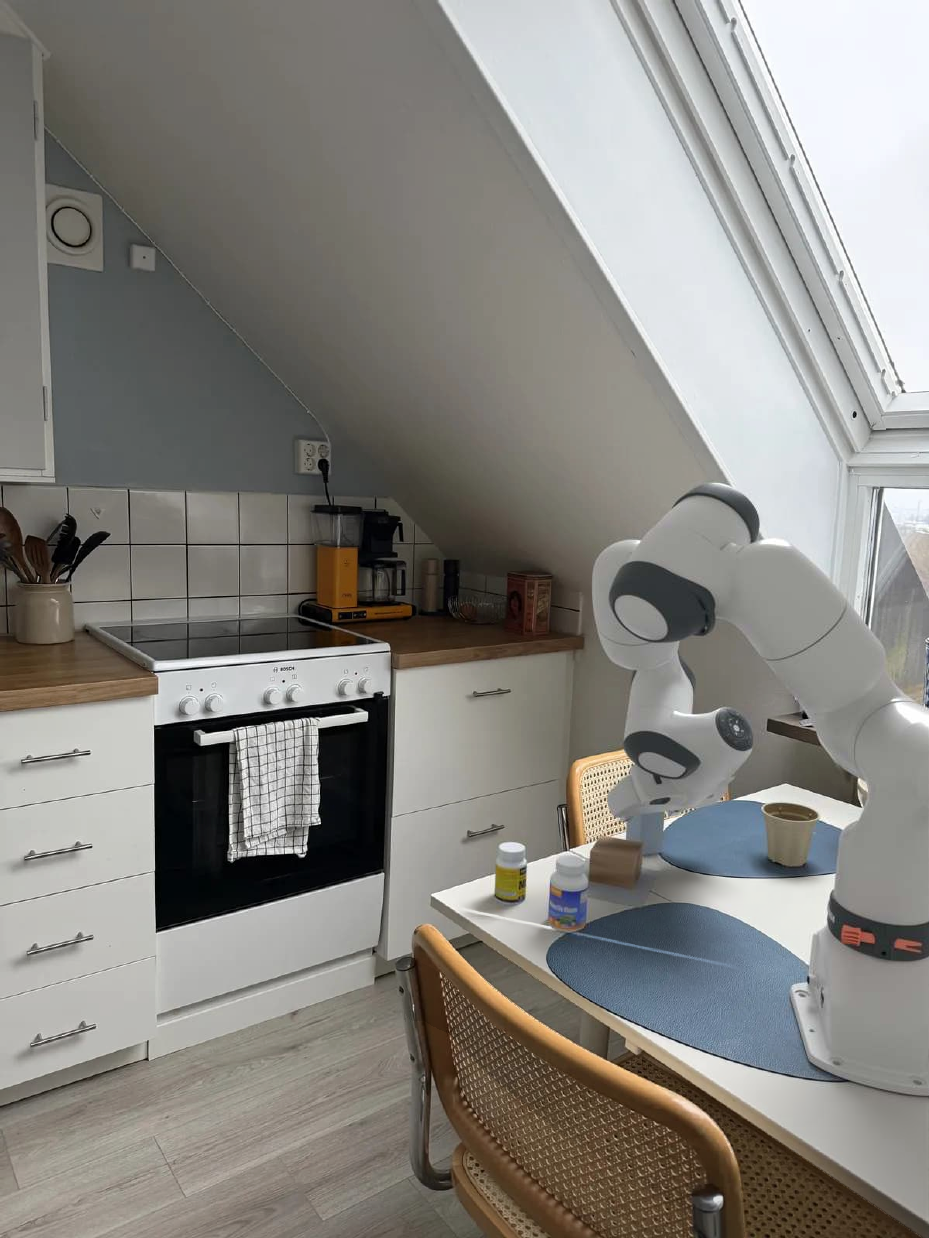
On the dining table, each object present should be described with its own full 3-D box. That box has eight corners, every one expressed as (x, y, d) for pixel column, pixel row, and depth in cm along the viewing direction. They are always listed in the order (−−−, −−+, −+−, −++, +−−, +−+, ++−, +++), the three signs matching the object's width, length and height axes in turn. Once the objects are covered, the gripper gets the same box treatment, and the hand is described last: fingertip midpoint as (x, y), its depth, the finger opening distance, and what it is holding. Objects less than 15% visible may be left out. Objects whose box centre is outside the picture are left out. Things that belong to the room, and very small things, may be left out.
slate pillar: (661, 854, 158) (665, 798, 156) (639, 857, 156) (642, 801, 155) (647, 844, 162) (650, 790, 161) (625, 847, 160) (628, 792, 159)
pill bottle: (542, 928, 131) (545, 863, 130) (555, 912, 136) (557, 849, 135) (579, 937, 129) (582, 871, 127) (590, 920, 134) (593, 857, 132)
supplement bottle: (523, 908, 137) (525, 854, 136) (491, 904, 138) (493, 851, 137) (527, 894, 142) (529, 842, 140) (497, 890, 143) (498, 839, 141)
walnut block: (632, 889, 143) (634, 858, 143) (588, 880, 146) (590, 850, 145) (641, 871, 150) (643, 842, 149) (599, 864, 152) (600, 835, 152)
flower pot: (745, 853, 160) (749, 805, 158) (787, 845, 163) (791, 798, 162) (785, 875, 151) (789, 824, 150) (828, 866, 155) (832, 817, 154)
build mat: (641, 910, 138) (641, 907, 138) (563, 894, 142) (563, 892, 142) (658, 873, 150) (658, 871, 150) (586, 860, 155) (586, 858, 155)
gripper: (731, 754, 152) (691, 791, 162) (623, 765, 144) (589, 803, 155) (747, 789, 148) (705, 825, 159) (637, 802, 141) (601, 839, 151)
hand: (647, 814), depth 157 cm, fingers open, 8 cm apart
